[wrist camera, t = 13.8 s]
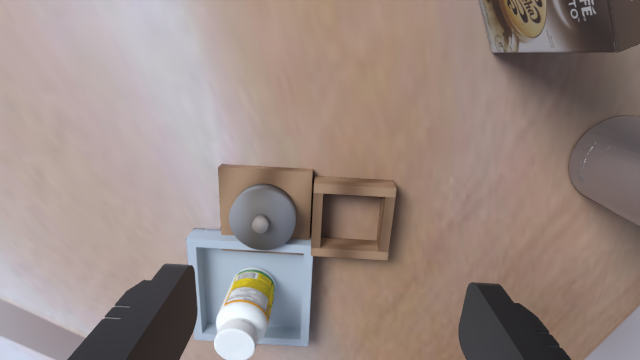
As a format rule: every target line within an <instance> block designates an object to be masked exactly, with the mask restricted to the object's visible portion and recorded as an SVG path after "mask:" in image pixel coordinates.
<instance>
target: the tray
mask: <svg viewBox="0 0 640 360" xmlns="http://www.w3.org/2000/svg"><path fill="white" fill-rule="evenodd" d="M311 236H312V235H310V239H309V240H301V239H289V240H288V241H287V242H286V243H285V244H283V245H282V246H280V247H278V248H276V249H272V250H256V249H252V248H250V247H248V246H246V245H244V244H243V243H241V242H240V241H239V240H238V239H237V238H236V237H235V236H233V235H221V230H217V229H199V228H194V229H193V231H192V232H191V233H190V234H189V236H188V237H187V238H186V243H187V255H188V265H192V266H193V267H194V270H195V281H196V294H197V307H198V313H197V321H196V325H195V328H194V339H195V340H208V341H214V340H215V337H216V334H217V328H216V318H217V315H218V313H219V310H220V308H221V306H222V303H223V301H224V299H225V297H226V294H227V292H228V290H229V287H230V285H231V283H232V280H233V278H234V277H235V275H236V274H237V273H238V272H239V271H241V270H242V269H245V268H249V267H256V268H261V269H263V270H265V271H267V272H268V273H269V274H270V275H271V276H272V277H273V279H274V281H275V285H276V291H275V296H274V301H273V305H272V309H271V314H270V318H269V323H268V327H267V330H266V333H265V335H264V337H263V338H262V339H261V340H260V341H259V342H258V343H257V344H274V345H290V346H307V347H308V343H309V328H310V309H311V289H312V269H313V256H311V255H313V254H311V250H312V249H311ZM312 247H313V246H312ZM222 249H236V250H253V251H270V252H287V253H304V255H293V254H276V253H259V252H242V251H225V250H222Z"/></svg>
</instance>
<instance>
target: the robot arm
mask: <svg viewBox="0 0 640 360" xmlns="http://www.w3.org/2000/svg"><path fill="white" fill-rule="evenodd" d="M569 176H570V179H571V182H572V184H573V185H574V187H575V188H576V189H577V190H578V191H579V192H580V193H581V194H583V195H584V196H586V197H588V198H590V199H591V200H593V201H595V202H597V203H599V204H600V205H602V206H604V207H606V208H608V209H609V210H611V211H613V212H614V213H616V214H618V215H620V216H622V217H624V218H625V219H627V220H629V221H631V222H633V223H634V224H636V225H638V226H640V117H636V116H618V117H613V118H610V119H607V120H604V121H603V122H601V123H599V124H597V125H595V126H594V127H593V128H591V129H590V130H589V131H587V132H586V133H585V134H584V135H583V137H582V138H581V139H580V140H579V141H578V143H577V144H576V146H575V147H574V149H573V152H572V154H571V157H570V162H569ZM197 313H198V307H197V294H196V281H195V270H194V267H193V266H192V265H181V264H164V265H163V266H162V267H161V269H160V270H159V271H158V272H157V274H156V275H155V276H154V278H153V279H152V280H151V281H149V280H143V281H142V282H140V283H139V284H137V285H135V286H134V287H132V288H131V289H129V290H128V291H126V292H125V294H124V295H123V296H122V297H121V298H120V299H119V301H118V302H117V303H116V304H115V307H114V308H112V309H111V310H110V311H109V312H108V313H107V314H106V316H105V319H102V320H101V321H100V323H99V324H98V325H97V326H96V327H95V328H94V329H93V331H92V332H91V333H90V334H89V335H88V336H87V338H86V339H85V340H84V341H83V342H82V344H81V345H80V346H79V347H78V348H77V349H76V350H75V351H74V353H73V354H72V355H71V356H70V357H69V358H68V360H179V359H180V357H181V355H182V353H183V351H184V349H185V347H186V345H187V343H188V341H189V339H190V337H191V335H192V333H193V331H194V328H195V325H196V321H197ZM459 341H460V346H461V349H462V351H463V353H464V355H465V358H466V360H571V359H570V357H569V356H568V355H567V354H566V352H565V351H564V350H563V349H562V348H560V347H559V344H558V342H557V341H556V340H555V339H554V337H553V336H552V335H550V334H549V331H548V330H547V328H546V327H545V326H544V325H543V323H542V322H541V321H540V320H539V318H538V317H537V316H536V315H534V314H533V313H532V312H530V311H529V310H528V309H526V308H525V307H524V306H522V305H521V304H520V303H514V302H513V301H512V300H511V298H510V297H509V296H508V294H507V293H506V292H505V290H504V289H503V288H502V286H501V285H499V284H490V283H473V282H472V283H470V284H469V285H468V288H467V291H466V296H465V300H464V305H463V309H462V314H461V318H460V323H459Z"/></svg>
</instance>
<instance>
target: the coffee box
mask: <svg viewBox="0 0 640 360" xmlns="http://www.w3.org/2000/svg"><path fill="white" fill-rule="evenodd" d="M479 3H480V7H481V11H482V15H483V19H484V23H485V27H486V31H487V35H488V39H489V43H490V47H491V51H492V53H505V52H508V53H513V52H518V53H521V52H523V53H535V52H620V51H623V50H626V49H628V48H630V47H633V46H635V45H638V44H640V0H479Z"/></svg>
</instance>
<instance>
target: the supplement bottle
mask: <svg viewBox="0 0 640 360" xmlns="http://www.w3.org/2000/svg"><path fill="white" fill-rule="evenodd" d="M275 291H276V285H275V281H274V279H273V277H272V276H271V275H270V274H269V273H268V272H267V271H265V270H263V269H261V268H256V267H249V268H245V269H242V270H241V271H239V272H238V273H237V274H236V275H235V277H234V278H233V280H232V283H231V285H230V287H229V290H228V292H227V294H226V297H225V299H224V301H223V303H222V306H221V308H220V310H219V313H218V315H217V318H216V328H217V334H216V337H215V340H214V347H215V349H216V351H217V353H218V354H219V355H220V356H221V357H223V358H224V359H226V360H247V359H248V358H250V357H251V356H252V355H253V353H254V351H255V348H256V345H257V343H258V342H259V341H260V340H261V339H262V338H263V337H264V335H265V333H266V330H267V327H268V323H269V318H270V314H271V309H272V305H273V301H274V296H275Z"/></svg>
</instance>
